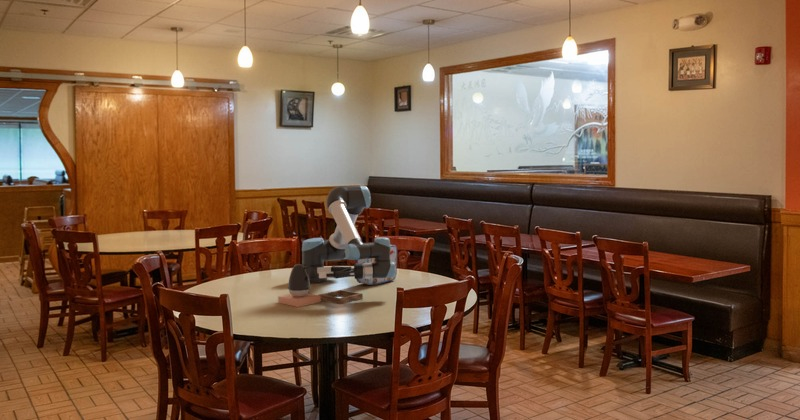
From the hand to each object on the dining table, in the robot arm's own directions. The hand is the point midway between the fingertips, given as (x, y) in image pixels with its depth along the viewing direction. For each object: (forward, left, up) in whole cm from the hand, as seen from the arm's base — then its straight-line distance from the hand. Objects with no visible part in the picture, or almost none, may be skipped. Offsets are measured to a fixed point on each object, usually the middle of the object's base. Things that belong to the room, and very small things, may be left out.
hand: (318, 272), depth 320 cm
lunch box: (-52, -11, -14) cm, 55 cm away
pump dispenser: (+7, -5, -11) cm, 14 cm away
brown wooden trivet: (-10, +5, -14) cm, 17 cm away
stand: (+7, -5, -14) cm, 16 cm away
